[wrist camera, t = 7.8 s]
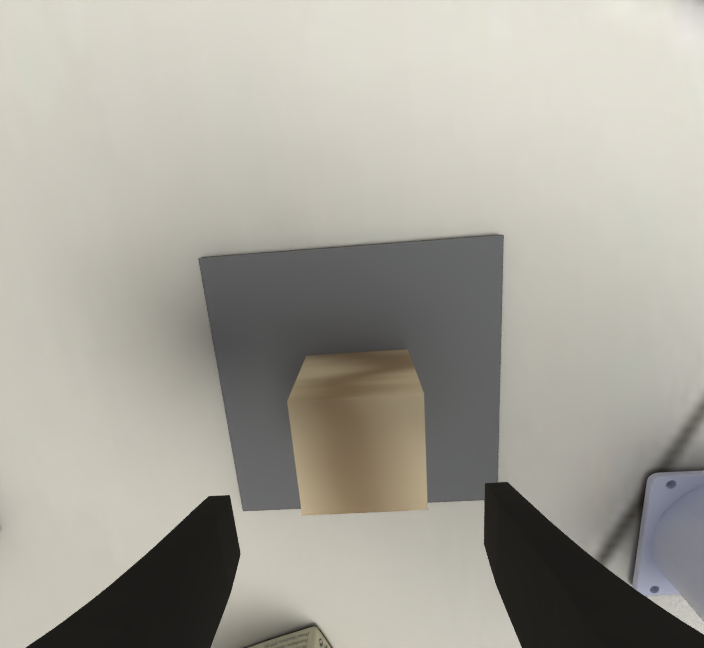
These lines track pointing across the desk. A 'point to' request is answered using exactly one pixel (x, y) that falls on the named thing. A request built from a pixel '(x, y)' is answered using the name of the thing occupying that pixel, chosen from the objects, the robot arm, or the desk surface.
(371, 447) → the maple cube
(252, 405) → the charcoal mat
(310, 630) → the skincare box
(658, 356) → the desk surface
